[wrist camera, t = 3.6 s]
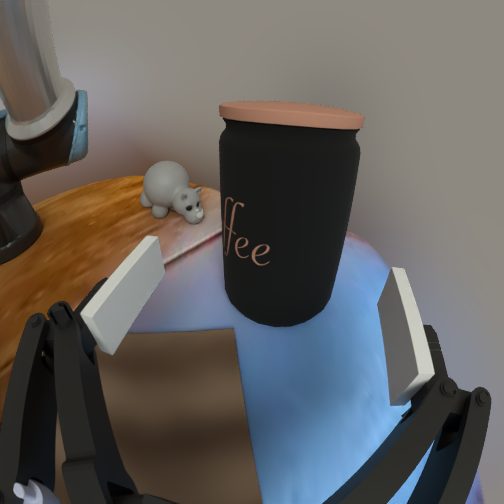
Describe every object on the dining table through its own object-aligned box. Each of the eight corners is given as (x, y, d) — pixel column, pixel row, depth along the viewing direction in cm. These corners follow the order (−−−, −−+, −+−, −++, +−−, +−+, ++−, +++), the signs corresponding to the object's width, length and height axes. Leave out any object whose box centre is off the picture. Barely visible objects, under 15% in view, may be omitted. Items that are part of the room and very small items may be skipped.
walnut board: (56, 338, 21) (52, 331, 20) (233, 335, 23) (233, 328, 23) (24, 505, 6) (16, 503, 6) (270, 543, 9) (271, 545, 8)
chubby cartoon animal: (178, 249, 39) (186, 205, 33) (133, 203, 42) (135, 160, 36) (212, 229, 44) (225, 187, 38) (166, 188, 46) (173, 147, 40)
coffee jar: (220, 266, 31) (214, 101, 21) (308, 257, 33) (326, 105, 23) (232, 340, 23) (225, 109, 13) (345, 321, 25) (395, 124, 14)
